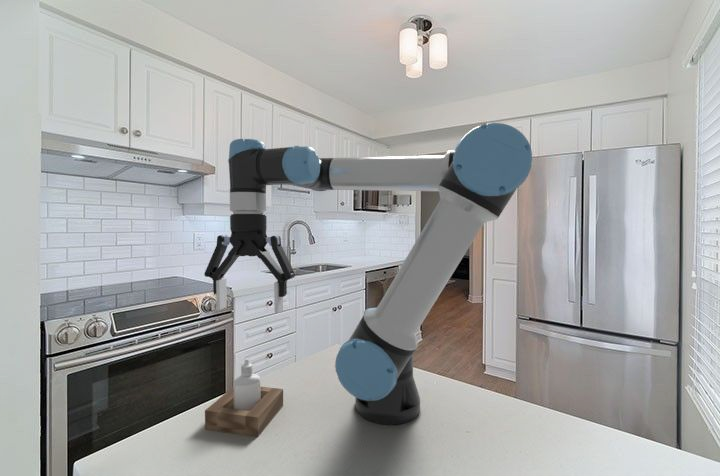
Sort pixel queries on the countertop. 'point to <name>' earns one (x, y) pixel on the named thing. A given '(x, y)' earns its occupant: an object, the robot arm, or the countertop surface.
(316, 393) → the countertop surface
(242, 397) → the eye dropper bottle
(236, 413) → the walnut bottle stand
